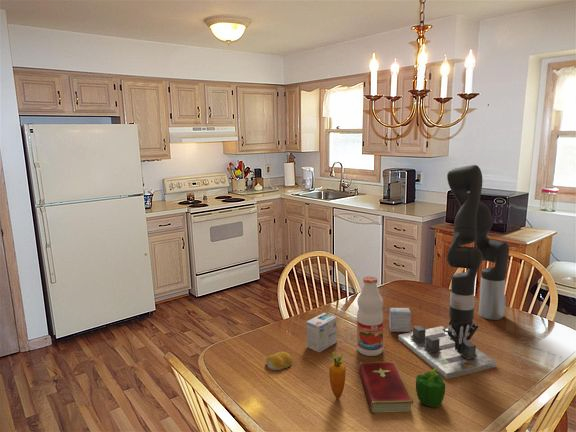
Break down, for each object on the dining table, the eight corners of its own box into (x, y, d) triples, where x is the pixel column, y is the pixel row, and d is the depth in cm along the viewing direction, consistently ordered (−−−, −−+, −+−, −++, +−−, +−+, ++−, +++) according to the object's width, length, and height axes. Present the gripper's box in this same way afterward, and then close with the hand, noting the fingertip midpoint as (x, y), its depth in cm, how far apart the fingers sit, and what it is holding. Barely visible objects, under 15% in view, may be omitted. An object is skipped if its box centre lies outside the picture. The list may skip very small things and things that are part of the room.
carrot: (328, 394, 127) (327, 350, 124) (344, 393, 127) (343, 348, 124) (331, 404, 122) (330, 358, 119) (347, 403, 122) (347, 357, 119)
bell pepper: (429, 415, 116) (430, 383, 114) (409, 398, 123) (410, 368, 121) (451, 406, 119) (453, 375, 117) (431, 390, 127) (432, 361, 125)
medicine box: (408, 327, 168) (408, 307, 167) (410, 332, 164) (411, 312, 162) (388, 327, 169) (389, 307, 167) (390, 332, 165) (390, 312, 163)
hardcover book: (370, 414, 118) (371, 401, 117) (358, 373, 138) (358, 361, 137) (412, 413, 117) (413, 400, 117) (394, 372, 138) (394, 360, 137)
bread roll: (296, 365, 144) (296, 354, 143) (274, 373, 139) (274, 363, 138) (283, 355, 151) (283, 345, 150) (262, 363, 146) (262, 352, 145)
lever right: (420, 335, 156) (421, 324, 156) (427, 339, 153) (427, 329, 152) (410, 337, 155) (411, 326, 154) (417, 341, 151) (417, 331, 151)
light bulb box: (324, 337, 163) (324, 311, 161) (337, 342, 158) (337, 316, 156) (306, 347, 155) (305, 320, 153) (319, 353, 151) (318, 326, 149)
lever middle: (434, 344, 149) (434, 334, 148) (441, 350, 145) (441, 339, 144) (423, 347, 148) (424, 336, 147) (430, 352, 144) (431, 341, 143)
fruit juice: (379, 343, 156) (379, 273, 151) (385, 356, 147) (386, 282, 142) (354, 344, 156) (354, 274, 151) (359, 357, 147) (359, 283, 141)
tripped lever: (469, 351, 144) (469, 340, 143) (477, 356, 140) (478, 345, 139) (458, 353, 143) (459, 342, 142) (466, 359, 139) (467, 347, 138)
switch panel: (441, 330, 164) (442, 325, 164) (496, 366, 138) (496, 361, 138) (398, 339, 159) (398, 334, 158) (446, 379, 132) (446, 373, 132)
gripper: (470, 297, 142) (467, 343, 146) (437, 303, 138) (436, 350, 142) (486, 305, 135) (483, 353, 139) (452, 312, 131) (450, 361, 135)
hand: (459, 351), depth 140 cm, fingers closed
